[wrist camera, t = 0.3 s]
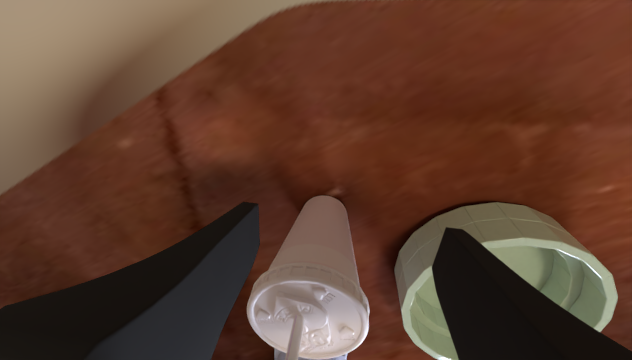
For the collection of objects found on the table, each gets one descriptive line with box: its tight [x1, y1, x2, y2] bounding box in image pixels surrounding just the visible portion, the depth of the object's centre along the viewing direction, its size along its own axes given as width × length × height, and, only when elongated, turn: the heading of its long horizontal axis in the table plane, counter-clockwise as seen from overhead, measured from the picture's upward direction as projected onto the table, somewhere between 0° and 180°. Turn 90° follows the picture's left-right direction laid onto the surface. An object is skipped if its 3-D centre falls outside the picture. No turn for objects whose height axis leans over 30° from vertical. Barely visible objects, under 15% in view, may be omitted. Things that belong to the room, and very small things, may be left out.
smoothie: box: [247, 195, 370, 360], centre depth 16 cm, size 6×6×14 cm
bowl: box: [394, 202, 618, 360], centre depth 21 cm, size 13×13×4 cm
